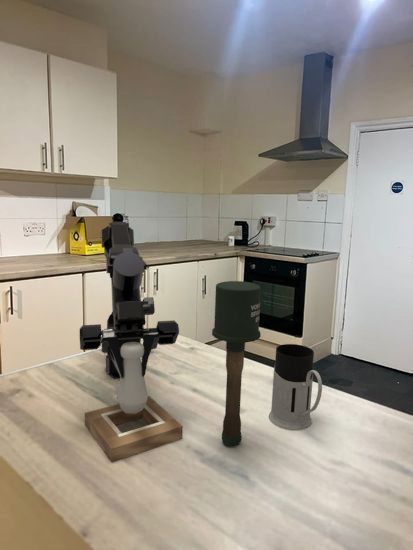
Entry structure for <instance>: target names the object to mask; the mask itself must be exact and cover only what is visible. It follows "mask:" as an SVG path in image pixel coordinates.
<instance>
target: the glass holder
mask: <svg viewBox="0 0 413 550" xmlns="http://www.w3.org/2000/svg"><path fill="white" fill-rule="evenodd" d="M314 354H315V351H314V350H313V349H311V347H308V346H306V345H302V344H296V343H285V344H280V345H278V346H276V348H275V362H274V367H273V377H272V378H273V379H272V393H271V394H272V395H271V408H270V409H271V410H270V412H269V414H268V419H269V421H270V422H271V424H272V425H274V426H276V427H277V428H281V429H283V430H288V431H302V430H306V429H308V428H309V427H311V425H312V423H313V421H312V418H311V413H313V412H314V411H315V410H316V409H317V408H318V405H319V404H320V401H321V398H322V392H323V381H322V378H321V375H320V372H318V371H317V370H314V368H313V367H314ZM314 375H315V377H316V379H317V385H318V387H317V395H316V398H315V402H314V404H313V406H312V405H311V403H312V392H313V391H312V390H313V383H314V382H313V380H314ZM311 406H312V407H311Z"/></svg>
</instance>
